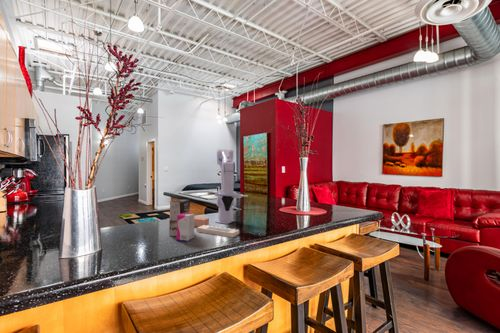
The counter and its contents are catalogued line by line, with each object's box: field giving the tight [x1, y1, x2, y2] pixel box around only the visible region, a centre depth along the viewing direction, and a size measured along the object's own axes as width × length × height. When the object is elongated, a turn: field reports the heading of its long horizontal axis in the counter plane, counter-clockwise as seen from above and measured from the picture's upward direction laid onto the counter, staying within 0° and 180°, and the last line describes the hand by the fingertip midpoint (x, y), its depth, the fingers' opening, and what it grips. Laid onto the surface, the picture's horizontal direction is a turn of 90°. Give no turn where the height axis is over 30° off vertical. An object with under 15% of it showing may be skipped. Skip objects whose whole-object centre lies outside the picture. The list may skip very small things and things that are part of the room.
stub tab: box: [194, 215, 210, 228], centre depth 142 cm, size 5×12×4 cm, turn 67°
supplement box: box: [176, 212, 195, 243], centre depth 117 cm, size 6×6×12 cm
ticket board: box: [196, 224, 240, 238], centre depth 129 cm, size 7×20×2 cm, turn 67°
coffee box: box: [168, 198, 191, 237], centre depth 125 cm, size 9×6×16 cm
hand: (227, 210), depth 138 cm, fingers closed
